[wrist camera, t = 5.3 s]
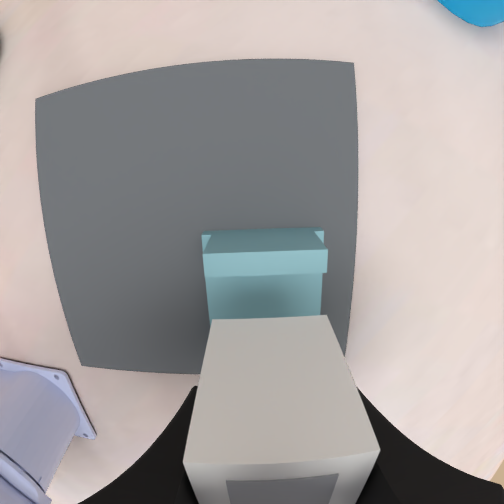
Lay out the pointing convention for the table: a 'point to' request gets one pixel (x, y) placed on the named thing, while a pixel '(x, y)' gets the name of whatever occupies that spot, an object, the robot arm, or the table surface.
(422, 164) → the table surface
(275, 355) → the connector plug
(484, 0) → the mug
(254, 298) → the connector holder
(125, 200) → the desk mat
